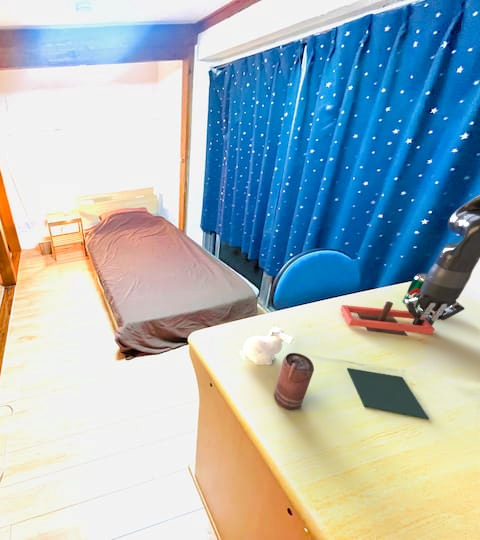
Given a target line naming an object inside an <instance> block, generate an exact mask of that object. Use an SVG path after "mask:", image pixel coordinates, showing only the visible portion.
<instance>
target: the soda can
mask: <svg viewBox="0 0 480 540" xmlns="http://www.w3.org/2000/svg"><path fill="white" fill-rule="evenodd" d="M427 275H428V273H416V275H415V276H413V278H412V280H411V282H410V284H409V287H408V289H407V291H406V293H405V295H404V297H403V299H402V303H403V304H404V305H405V303H404V301H403V300H404V299H405V298H408V299H413V298H415V297H416V295H418V294H419V293H420V290H421V287H422V285H423V283H424V281H425V279H426V277H427ZM418 305H419V304H418V302H417V303H416V306H415V309H418Z"/></svg>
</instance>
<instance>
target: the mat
mask: <svg viewBox="0 0 480 540" xmlns="http://www.w3.org/2000/svg"><path fill="white" fill-rule="evenodd" d="M346 370H347V372H348V374H349V376H350V379H351V381H352V383H353V385H354V387H355V388H354V389H355V390H356V392H357V394H358V396H359V398H360V399H359V400H361V403H362V406H363V407H364V408H368V409H372V410H373V409H374V410H378V411H382V412H383V411H384V412H387V413H394V414H399V415H403V416H407V417H413V418H419V419H423V420H429V419H430V418H429V416H428V414H427V413H426V412H425V410H424V409H423V406H422V405H421V404H420V402H419V401H418V399H417V398H416V395H414V393H413V391H412V390H411V388H410V386H409V385H408V384H407V382H406V380H405V379H404V378H403V376H399V375H391V374H388V373H387V374H386V373H381V372H374V371H369V370H362V369H356V368H351V367H347V368H346Z"/></svg>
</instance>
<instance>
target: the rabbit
mask: <svg viewBox="0 0 480 540" xmlns="http://www.w3.org/2000/svg"><path fill="white" fill-rule="evenodd" d="M293 340H294V337H292V336H289V335H287V334H285V332H284V330H283V329H282V328H280V327H272V328H271V329H270V331H269V333H268V335H266V336H261V335H254V336H252V337H249V338H248V339H247V340H246V341H245V342H244V345H243V350H242V349H241V350H240V351H239V353H240V354H239V355H240V357H241V358H242V359H243V360H245V361H248V362H249V361H250V362H252V363H253V364H254V365H256V366H257V365H258V366H259V365H260V366H261V365H263V366H265V365H267V366H271V365H272V364H273V361H274V360H275V359H276V356H275V355H277V354H279V353H280V352H281V350H282V347H283V342H285V343H287V344H288V345H290V344H291V343H292V341H293Z"/></svg>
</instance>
